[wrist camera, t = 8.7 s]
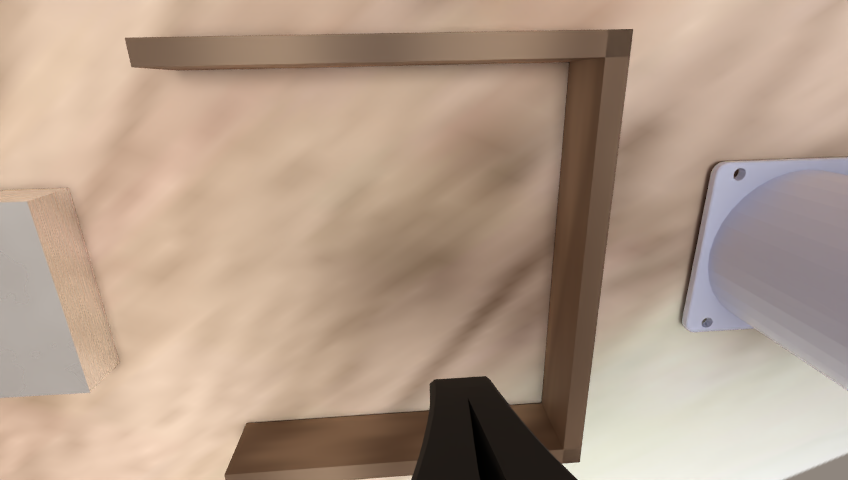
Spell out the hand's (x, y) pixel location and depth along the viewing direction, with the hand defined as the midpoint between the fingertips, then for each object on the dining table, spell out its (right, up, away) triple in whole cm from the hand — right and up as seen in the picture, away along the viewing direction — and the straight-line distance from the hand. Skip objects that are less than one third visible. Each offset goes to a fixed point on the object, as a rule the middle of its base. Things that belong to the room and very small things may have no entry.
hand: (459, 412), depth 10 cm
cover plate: (-19, +2, +8) cm, 21 cm away
